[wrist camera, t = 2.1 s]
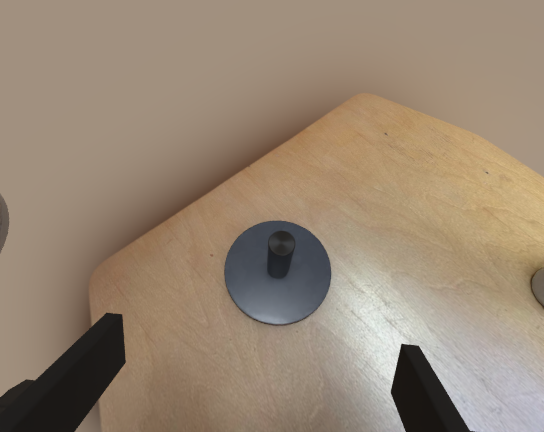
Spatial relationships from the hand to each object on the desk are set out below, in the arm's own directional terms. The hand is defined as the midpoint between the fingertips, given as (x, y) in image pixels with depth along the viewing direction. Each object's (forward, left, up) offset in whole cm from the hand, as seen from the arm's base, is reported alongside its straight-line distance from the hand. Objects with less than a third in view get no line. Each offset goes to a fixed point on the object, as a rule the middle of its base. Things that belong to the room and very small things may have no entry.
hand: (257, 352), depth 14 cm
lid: (0, +11, -22) cm, 24 cm away
